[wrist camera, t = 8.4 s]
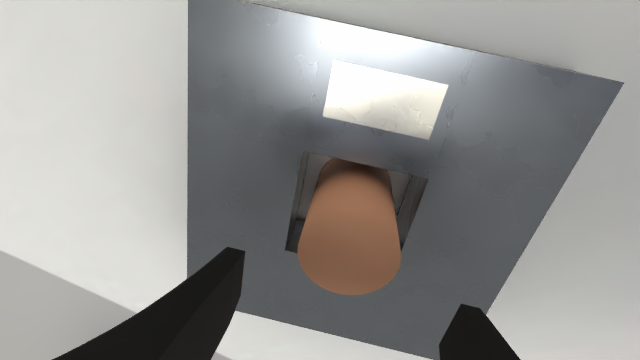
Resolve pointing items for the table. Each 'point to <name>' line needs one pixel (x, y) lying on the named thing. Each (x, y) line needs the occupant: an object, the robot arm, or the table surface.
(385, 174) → the peg
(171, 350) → the robot arm
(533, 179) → the grey square slab
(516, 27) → the table surface
